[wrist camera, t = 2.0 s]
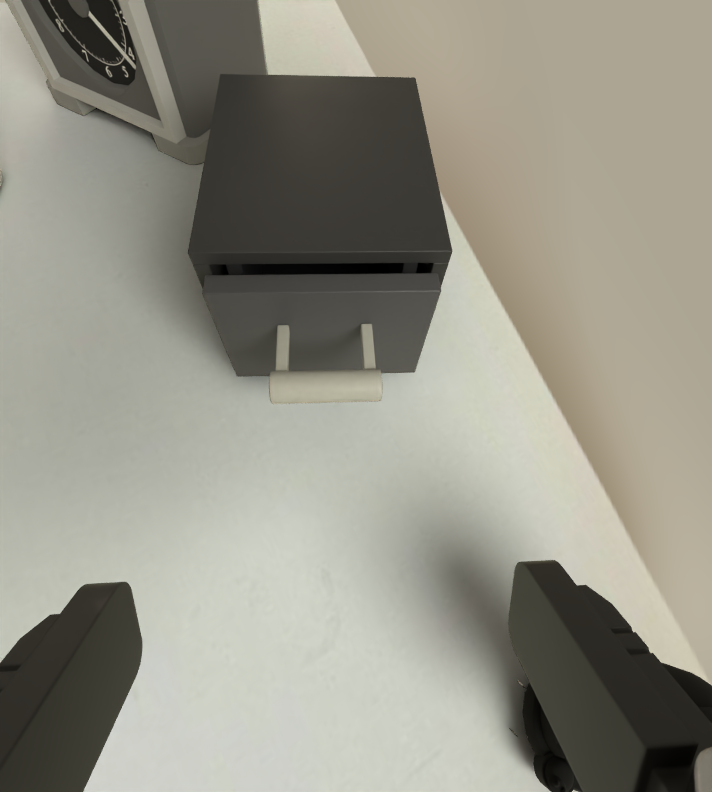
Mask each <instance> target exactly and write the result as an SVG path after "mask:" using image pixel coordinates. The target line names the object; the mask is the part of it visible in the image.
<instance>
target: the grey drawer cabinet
mask: <svg viewBox="0 0 712 792" xmlns="http://www.w3.org/2000/svg"><path fill="white" fill-rule="evenodd" d="M188 254H189V256H190V259H191V261H192V264H193V266H194V268H195V271H196V273H197V276H198V278H199V281H200V283H201V285H202V288H203V286H204V279H205V276H206V275H229V274H228V270H227V267H226V264H341V263H418V266H417V271H416V273H437V274H438V278H439V283H440V288H441V285H442V282H443V279H444V276H445V272H446V269H447V266H448V262H449V260H450V257H451V254H452V248H451V243H450V238H449V233H448V229H447V224H446V219H445V215H444V210H443V205H442V201H441V196H440V191H439V187H438V182H437V177H436V173H435V168H434V164H433V159H432V154H431V149H430V145H429V140H428V135H427V131H426V126H425V121H424V116H423V113H422V107H421V102H420V98H419V93H418V89H417V84H416V79H415V78H401V77H396V78H395V77H349V76H297V75H244V74H220V78H219V84H218V89H217V95H216V100H215V106H214V111H213V117H212V122H211V128H210V133H209V139H208V144H207V150H206V156H205V161H204V167H203V172H202V178H201V183H200V189H199V194H198V200H197V205H196V211H195V216H194V222H193V228H192V233H191V239H190V244H189V250H188Z"/></svg>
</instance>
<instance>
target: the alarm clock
mask: <svg viewBox="0 0 712 792" xmlns="http://www.w3.org/2000/svg"><path fill="white" fill-rule="evenodd" d="M5 1H6V3H7V4H8V6H9V8H10V10H11V12H12V14H13V16H14V17H15V19H16V21H17V23H18V25H19V27H20V28H21V30H22V32H23V34H24V36H25V38H26V40H27V41H28V43H29V45H30V47H31V49H32V51H33V52H34V54H35V56H36V58H37V60H38V62H39V64H40V65H41V67H42V69H43V71H44V73H45V75H46V76H47V78H48V79H47V81H46V83H47V86H48V88H49V90H50V91H51V93H52V95H53V97H54V99H55V100H56V102H57V104H59V105H61V106H63V107H65V108H67V109H70V110H72V111H74V112H76V113H78V114H81V115H83V116H84V115H86V114H87V113H89V112H91V111H92V110H94V109H96V108H98V109H100V110H103V111H105V112H107V113H109V114H111V115H114V116H116V117H118V118H120V119H123V120H125V121H127V122H129V123H131V124H134V125H136V126H138V127H140V128H143V129H145V130H147V131H149V132H151V133H152V134H153V137H154V140H155V142H156V145H157V147H158V150H159V151H161V152H163V153H165V154H168V155H170V156H172V157H174V158H176V159H178V160H181V161H183V162H185V163H187V164H200V163H204V161H205V156H206V150H207V144H208V139H209V133H210V128H211V122H212V117H213V111H214V106H215V100H216V95H217V89H218V84H219V78H220V74H244V75H268V72H267V64H266V57H265V49H264V41H263V33H262V25H261V18H260V10H259V2H258V0H5Z"/></svg>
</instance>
